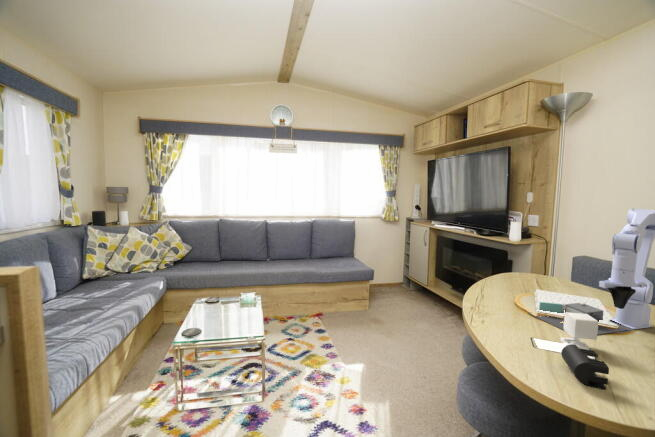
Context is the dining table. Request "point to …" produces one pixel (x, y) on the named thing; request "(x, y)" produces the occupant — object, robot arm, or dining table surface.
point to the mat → (556, 323)
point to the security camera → (579, 329)
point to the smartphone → (551, 346)
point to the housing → (584, 310)
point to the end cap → (585, 366)
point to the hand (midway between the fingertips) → (619, 307)
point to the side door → (552, 307)
